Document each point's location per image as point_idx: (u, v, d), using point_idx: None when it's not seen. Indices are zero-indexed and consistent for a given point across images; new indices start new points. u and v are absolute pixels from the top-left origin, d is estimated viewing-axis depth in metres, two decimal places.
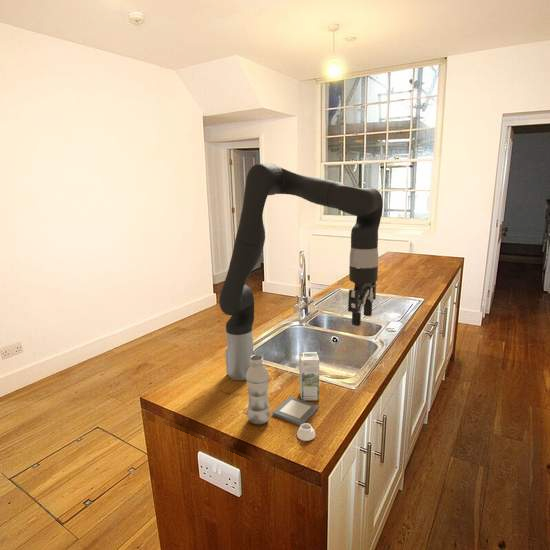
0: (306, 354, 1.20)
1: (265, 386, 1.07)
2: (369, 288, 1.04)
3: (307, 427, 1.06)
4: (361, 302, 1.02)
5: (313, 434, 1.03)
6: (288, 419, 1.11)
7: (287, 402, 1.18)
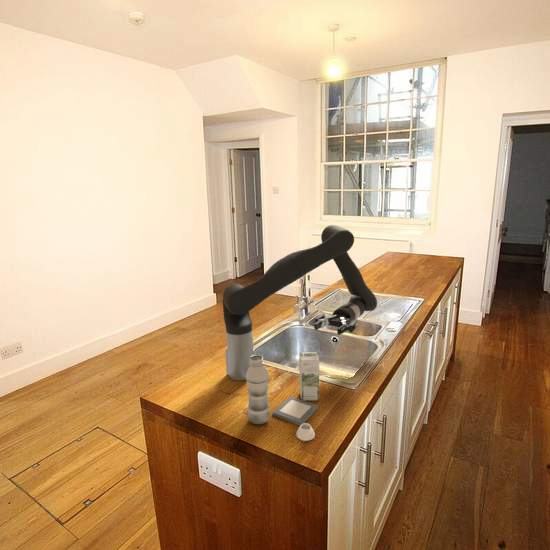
0: (306, 354, 1.20)
1: (265, 386, 1.07)
2: None
3: (307, 427, 1.06)
4: None
5: (313, 434, 1.03)
6: (288, 419, 1.11)
7: (287, 402, 1.18)
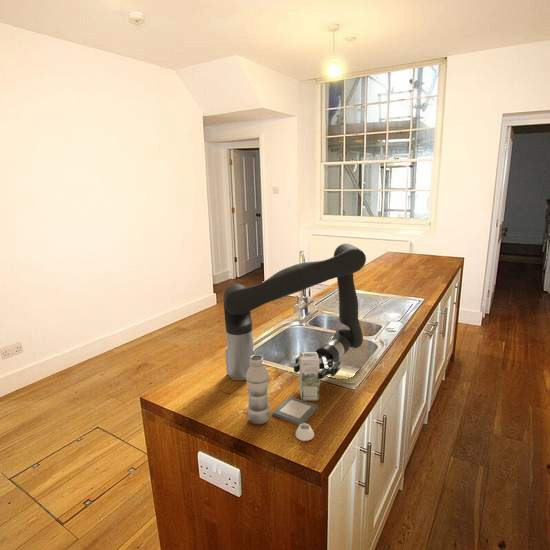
0: (306, 354, 1.20)
1: (265, 386, 1.07)
2: None
3: (306, 427, 1.06)
4: None
5: (312, 434, 1.03)
6: (288, 419, 1.11)
7: (287, 402, 1.18)
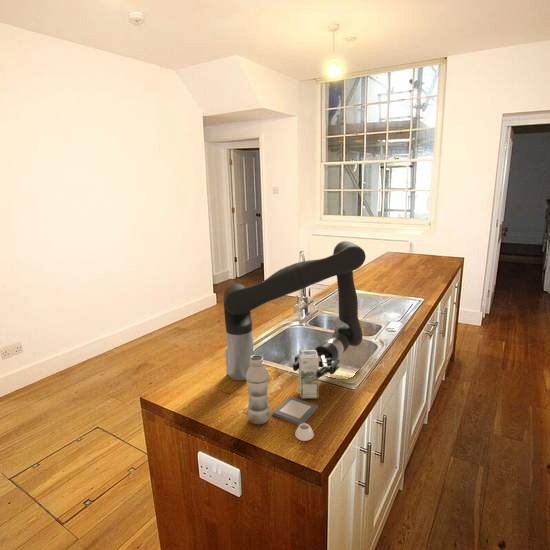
0: (305, 352, 1.20)
1: (265, 386, 1.07)
2: None
3: (305, 427, 1.06)
4: None
5: (311, 434, 1.03)
6: (288, 419, 1.11)
7: (287, 402, 1.18)
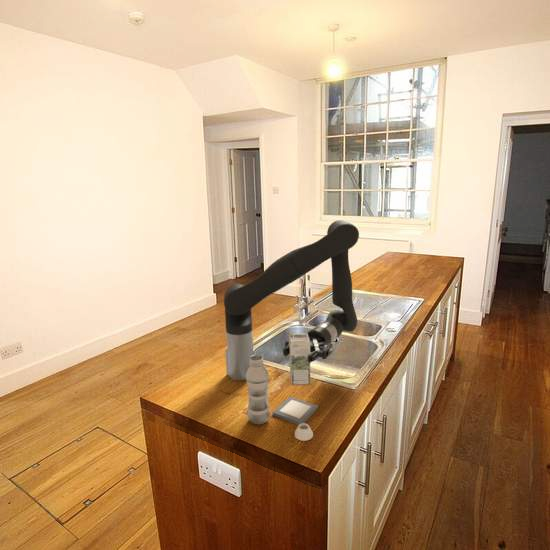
0: (296, 335, 1.13)
1: (265, 386, 1.07)
2: None
3: (305, 427, 1.06)
4: None
5: (311, 434, 1.03)
6: (288, 419, 1.11)
7: (287, 402, 1.18)
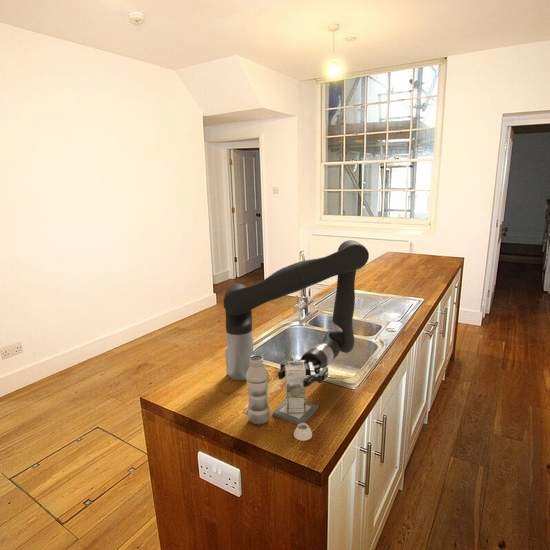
0: (292, 363, 1.12)
1: (265, 386, 1.07)
2: None
3: (304, 427, 1.06)
4: None
5: (310, 434, 1.03)
6: (288, 419, 1.11)
7: None
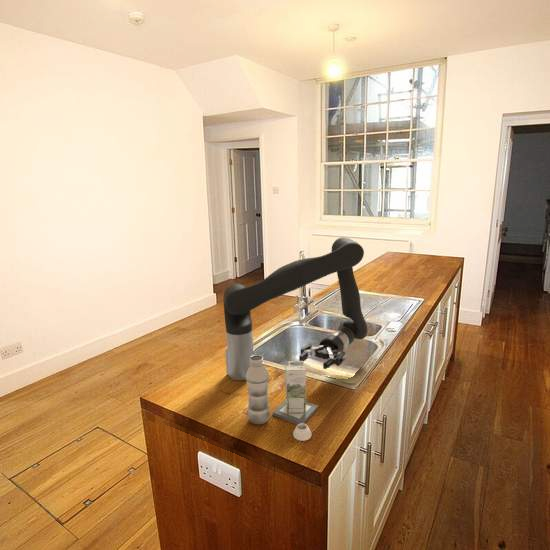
0: (292, 363, 1.12)
1: (265, 386, 1.07)
2: None
3: (303, 427, 1.06)
4: None
5: (309, 434, 1.03)
6: (288, 419, 1.11)
7: None
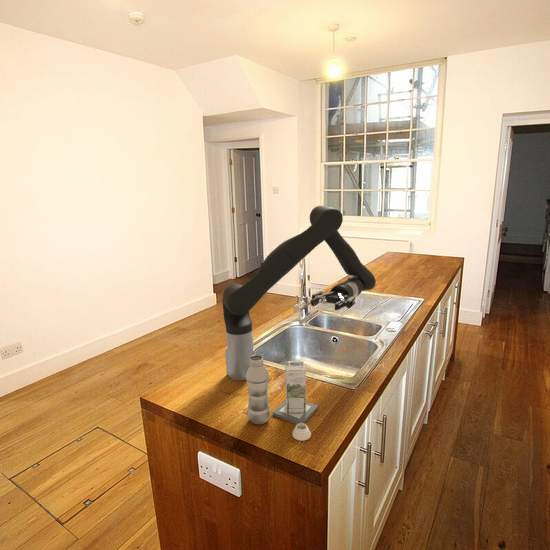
0: (292, 363, 1.12)
1: (265, 386, 1.07)
2: None
3: (303, 427, 1.06)
4: None
5: (308, 434, 1.03)
6: (288, 419, 1.11)
7: None
